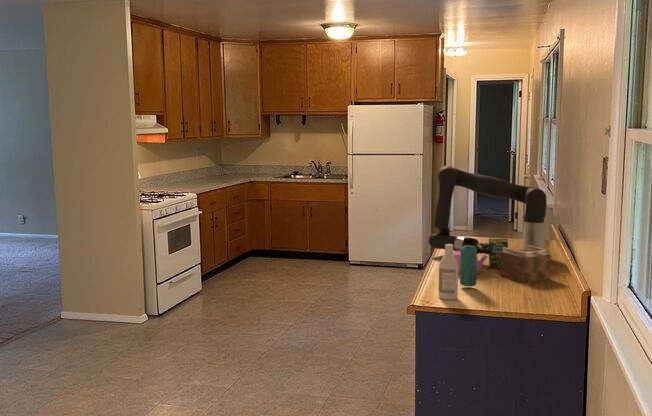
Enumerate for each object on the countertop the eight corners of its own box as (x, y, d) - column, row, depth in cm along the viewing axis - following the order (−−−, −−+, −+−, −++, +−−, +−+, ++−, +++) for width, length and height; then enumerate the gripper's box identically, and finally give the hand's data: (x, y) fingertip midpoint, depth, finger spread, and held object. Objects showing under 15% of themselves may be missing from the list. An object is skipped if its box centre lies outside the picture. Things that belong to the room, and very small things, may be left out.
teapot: (486, 270, 278) (486, 247, 277) (487, 276, 268) (488, 252, 267) (444, 269, 281) (444, 246, 280) (444, 274, 271) (444, 251, 270)
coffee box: (488, 268, 282) (489, 239, 280) (488, 266, 285) (488, 238, 283) (507, 268, 281) (508, 239, 279) (506, 267, 283) (507, 238, 282)
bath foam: (444, 294, 241) (445, 242, 238) (460, 297, 236) (462, 244, 233) (434, 298, 235) (435, 245, 233) (451, 301, 231) (452, 247, 228)
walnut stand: (525, 271, 275) (526, 244, 274) (549, 278, 263) (550, 250, 261) (499, 275, 269) (500, 247, 268) (522, 282, 257) (524, 253, 255)
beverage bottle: (476, 290, 245) (478, 239, 243) (459, 289, 247) (460, 239, 244) (476, 286, 252) (477, 236, 249) (459, 285, 253) (460, 236, 250)
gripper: (456, 239, 290) (486, 244, 278) (476, 235, 299) (505, 240, 287) (456, 255, 291) (485, 261, 279) (475, 251, 300) (505, 256, 288)
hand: (495, 250), depth 283 cm, fingers open, 8 cm apart
